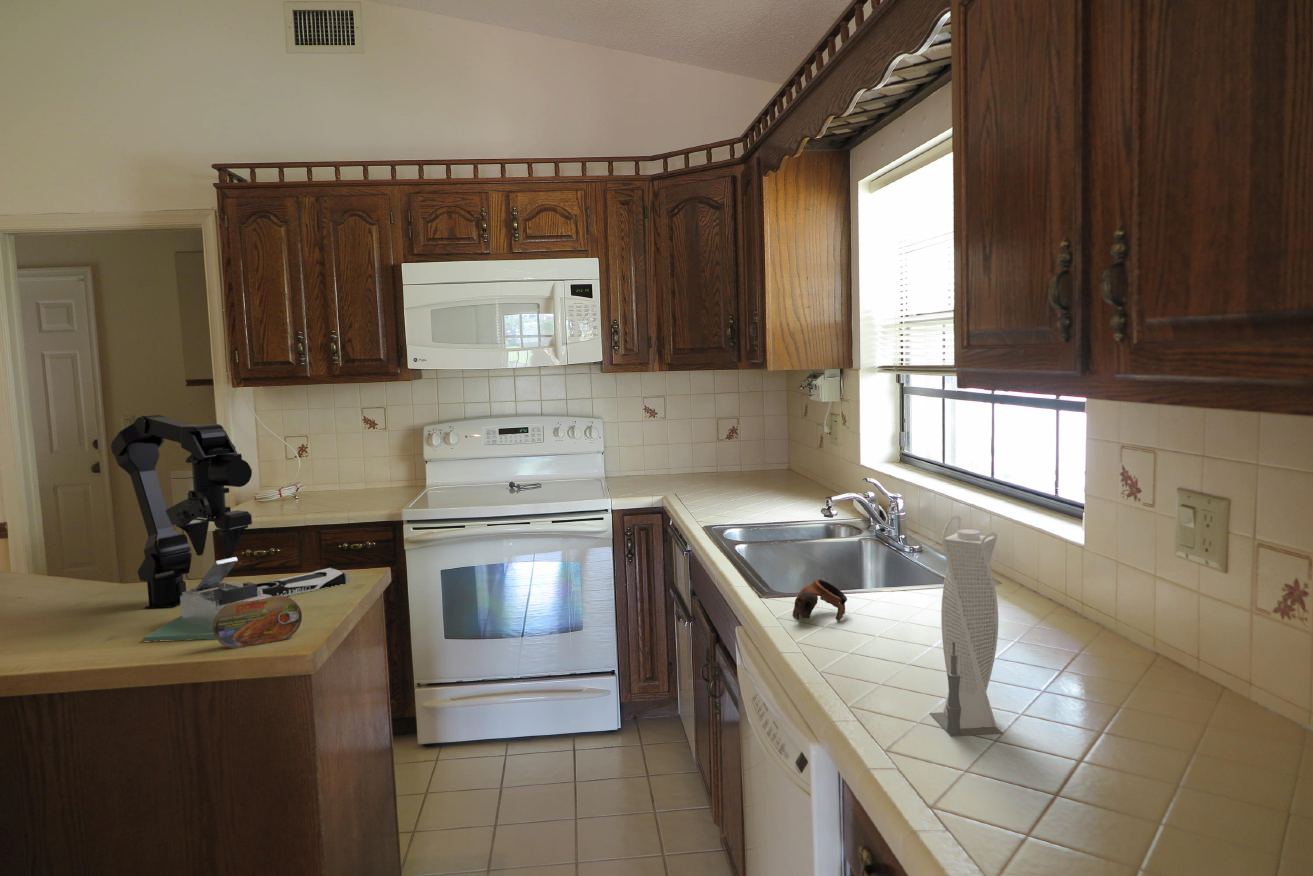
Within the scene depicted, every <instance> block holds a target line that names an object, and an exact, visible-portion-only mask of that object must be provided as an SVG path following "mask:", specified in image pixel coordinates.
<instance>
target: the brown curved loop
mask: <svg viewBox="0 0 1313 876" xmlns="http://www.w3.org/2000/svg"><path fill="white" fill-rule="evenodd" d="M819 599H820V600H821V601H824V602H825V603H827V604H830V605H832V607H834V608H836V609H837V613H836V616H835V620H836V621H837V622H840V621H841V620H842V618H843V615H845V614H846V605H845V603H846V602H848V597H847V596H846V594H844V593H843V592H842V591H841V590H840V589H839V588H837V587H836V586H835V585H833V584H832V583H830V582H828V581H825V580H823V579H820V578H815V579H814V580H813V582H812V583H810V584H806V585H805V586H803V587H802V588H801V589H800V591H799V592H798V595H797V596H796V598H795V599H794V607H793V610H792V616H793V617H794V619H796V620H797V621H798V620H799V618H800V617H801V619H805V620H808V619H810V618H811V615H812V612H813V610H814V608H815V607H816V606H817V604H818V601H819Z"/></svg>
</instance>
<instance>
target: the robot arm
mask: <svg viewBox="0 0 1313 876" xmlns="http://www.w3.org/2000/svg"><path fill="white" fill-rule="evenodd" d="M165 440H168V441H172V442H176V443H178V444H180V448H181V449H183V450H184V451H187V452H188V453H190V455H189V456H187V458H186V459H185V463H187V464H191V471H192V472H191V473H192V474H191V475H192V487H193V488H192V489H190V490H188V492H187V499H184V500H181V501H180V502H178V503H176V504H175V505H172V506H171V507H169V508H168V507H167V503H166V499H165V497H164V493H163V491H162V486H161V484H160V481H159V476H158V474H157V470H156V467H157V464H158V461H159V458H160V449H159V448H160V447H161V446H162V445H163V443H164V442H165ZM110 445H111V446H110V448H111V452H112V454H113V455H114V458H115V460H116V463H117V465H118V466H119V467H120V468H121V469H123V470H124V471H125V473H127V474H128V475H129V476H130V479H131V482H132V487H133V488H134V489H133V490H134V493H135V496H136V499H137V502H138V506H139V509H140V513H141V516H142V519H143V522H144V526H145V528H146V529H145V530H146V532H147V535H148V536H147V539H146V542H145V546H144V548H143V552H144V560H143V561H142V563H141V565H140V566H139V568H138V570H137V575H138V577H139V578H138V579H139V581H141V582H146V584H147V585H146V586H147V599H148V604H146V605H144V608H145V609H155V608H175V607H177V606H179V605H181V602H180V596H182V595H183V594H182V592H185V591H186V592H187V583H186V580H184V575H185V574H186V575H188V574H190V569H191V563H192V558H193V557H192V556H193V555H192V549H191V547H190V545H189V541H188V538H189V540H190V543H191V544H192V547H193V549H194V551H195V554H196V556H199V557H200V556H203V555H204V551H205V548H206V542H207V536H208V530H209V525H210V522H212V523H214V524H213V525H214V526H215V527H216V528H215V529H214V532H216V534H218V535H219V536H220V539H221V544H222V550H223V551H222V552H223V555H224V559H228V558H233V555H234V554H235V553H234V552H235V550H236V548H237V545H238V543H239V541H240V540H241V537H242V536H243V534H244V532H245V530H246V529H248V528H249V525H252V524H253V516H252V514H251V513H250V512H249V511H246V510H237V509H236V510H231V506H226V494H229V493H230V487H232V488H233V487H235V488H242V487H244V486H246V485H247V484H248V483H250V480H251V478H252V475H253V470H252V468H251V465H250V464H249V462H247V461H246V460H244V459H243V457H242V456H243V455H242V453H238V451H237V450H236V449H237V448H236V446H235V445H234V443H233V442H232V441H231V439H230V437H229V435H228V433H227V431H226V430H225V428H224V427H223V426H222V425H221V424H218V423H213V424H212V423H209V424H193V423H188V422H184V421H181V420H177V419H173V418H169V417H166V416H164V415H161V414H149V415H141V416H138V417H137V418H136V419H135V421H134V422H133V423H131V424H130V425H128V426H126V427H125V428H123V429H122V430H120V431H118V433H117V434H116V436H115V437H114V439H113V440H112V441H111V443H110ZM173 526H175V527H177V528H180V529H181V530H182V531H184V532H185V533H186V534H187V535H186V534H185V533H179V532H177V530H175V529H174V527H173Z"/></svg>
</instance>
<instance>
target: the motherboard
mask: <svg viewBox="0 0 1313 876" xmlns="http://www.w3.org/2000/svg"><path fill="white" fill-rule="evenodd" d="M187 639H205V640H217V639H216V638H215V636H214V633H213V631H212V630H209V629H206V628H203V627H200V626H198V625H195V624H192V623H189V622H187V621H184V620H182V615H180V616H179V617H177V618H175V619H173V620H171V621H170V622H168V623H166V624H165V625H162V626H160V627H159V628H157V629H156V630H154V631H152V632H150V633H148V634H146V635H145V636H143V642H144V641H155V640H156V641H160V640H184V641H188V640H187Z"/></svg>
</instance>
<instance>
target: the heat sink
mask: <svg viewBox="0 0 1313 876" xmlns="http://www.w3.org/2000/svg"><path fill="white" fill-rule="evenodd" d="M182 594H183V595H182V596H180V602H181V604H180V612H181V614H180V615H181V616H182V620H184V621H187V622H189V623H192V624H195V625H198V626H200V627H203V628H206V629H209V630H212V631H213V622H214V619H215V617H216V615H217V614H218V612H219V611H220V610H221V609H222V608H223V607H225V606H226V605H228V604H230V603H234V602H239V601H246V600H253V599H259V598H265V597H266V595H265V594H263V593H262V589H258V588H257V583H253V582H249V581H247V582H243V583H240V582H239V583H238V582H235V581H232V580H231V581H226V582H221V583H220V584H219V586H218V587H216V588H212V589H207V590H203V591H199V592H197V589H196V587H194V588H191V589H190V590H186V591H185V592H182Z"/></svg>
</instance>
